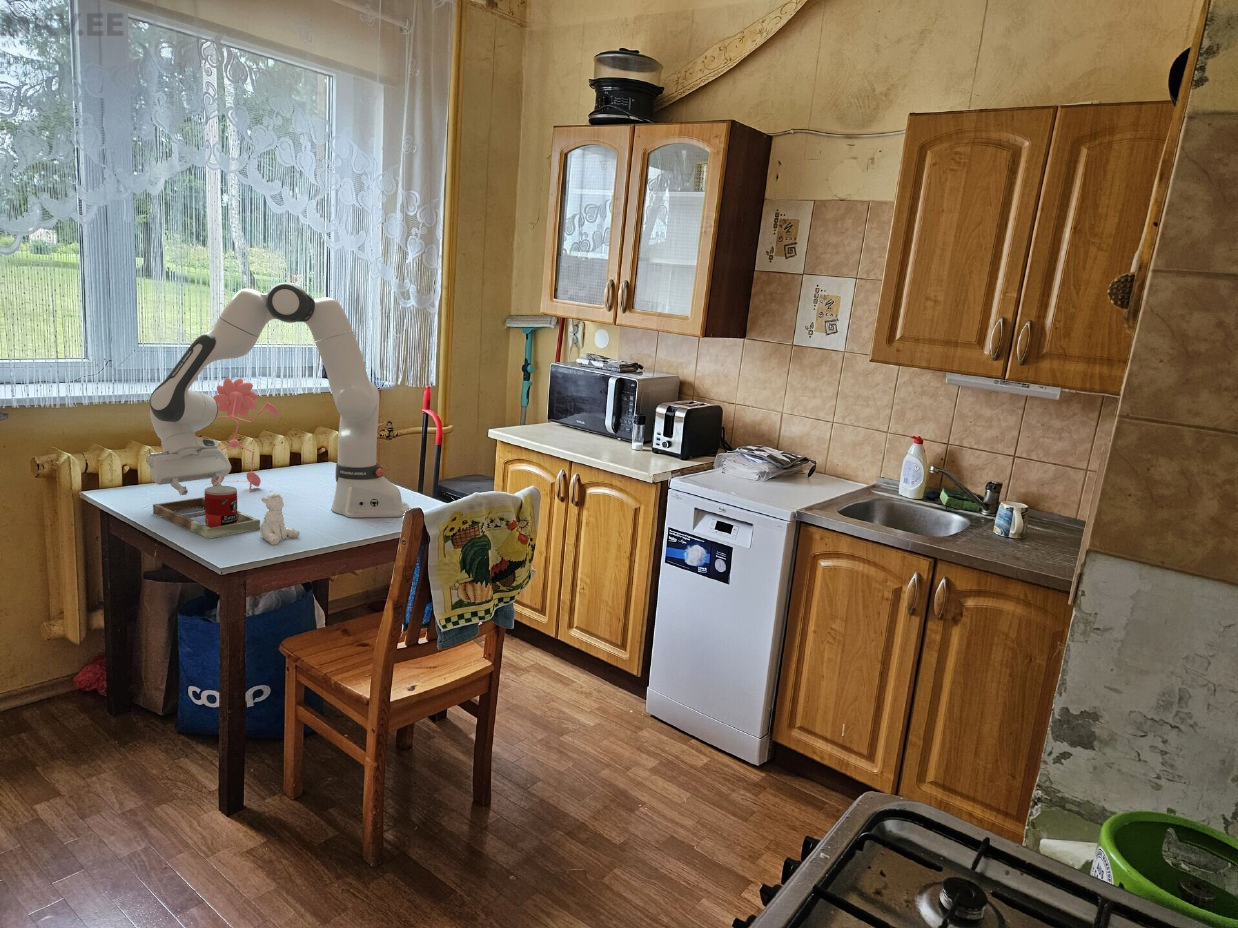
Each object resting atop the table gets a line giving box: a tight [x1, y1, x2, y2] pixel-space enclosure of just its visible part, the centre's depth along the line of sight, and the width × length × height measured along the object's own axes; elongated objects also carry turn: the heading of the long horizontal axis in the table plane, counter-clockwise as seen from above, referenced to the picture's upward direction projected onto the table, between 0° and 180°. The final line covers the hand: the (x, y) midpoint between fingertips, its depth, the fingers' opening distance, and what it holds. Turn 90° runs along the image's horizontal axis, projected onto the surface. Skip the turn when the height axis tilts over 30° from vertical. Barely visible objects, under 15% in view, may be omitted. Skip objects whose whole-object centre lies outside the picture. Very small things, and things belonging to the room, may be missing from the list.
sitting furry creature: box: [259, 493, 300, 546], centre depth 213 cm, size 10×9×12 cm
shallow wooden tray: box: [152, 496, 261, 540], centre depth 223 cm, size 30×14×2 cm, turn 53°
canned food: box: [204, 485, 238, 528], centre depth 217 cm, size 8×8×11 cm
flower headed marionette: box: [203, 377, 281, 493], centre depth 257 cm, size 15×26×35 cm, turn 108°
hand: (201, 491), depth 223 cm, fingers open, 8 cm apart
